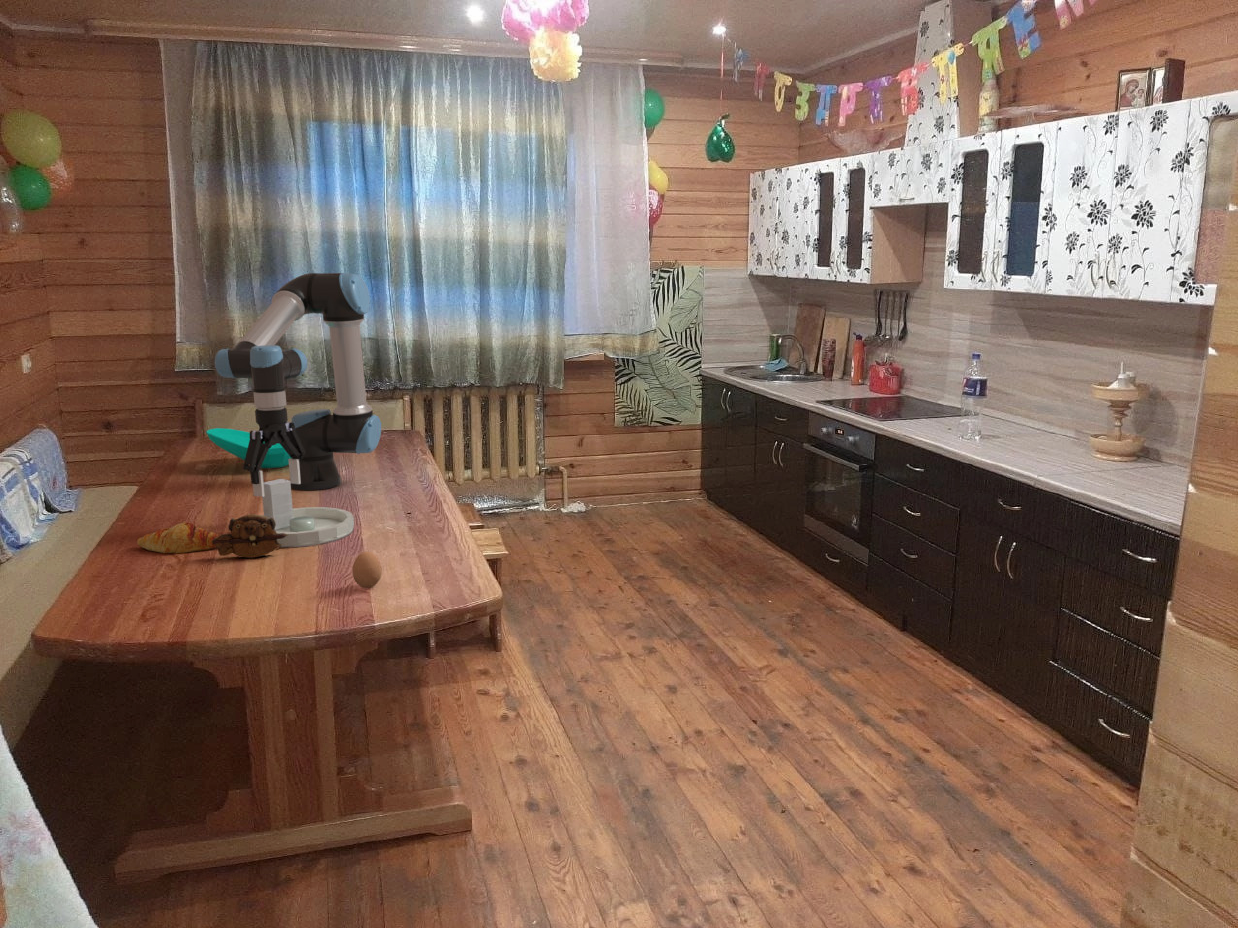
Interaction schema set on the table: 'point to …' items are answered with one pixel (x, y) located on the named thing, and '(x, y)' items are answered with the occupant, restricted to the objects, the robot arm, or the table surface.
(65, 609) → the table surface
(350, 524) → the ring tray
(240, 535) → the wooden carving
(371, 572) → the egg
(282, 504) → the skincare box
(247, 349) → the robot arm
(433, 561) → the table surface
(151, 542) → the croissant
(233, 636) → the table surface
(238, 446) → the table top decor
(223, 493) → the table surface
